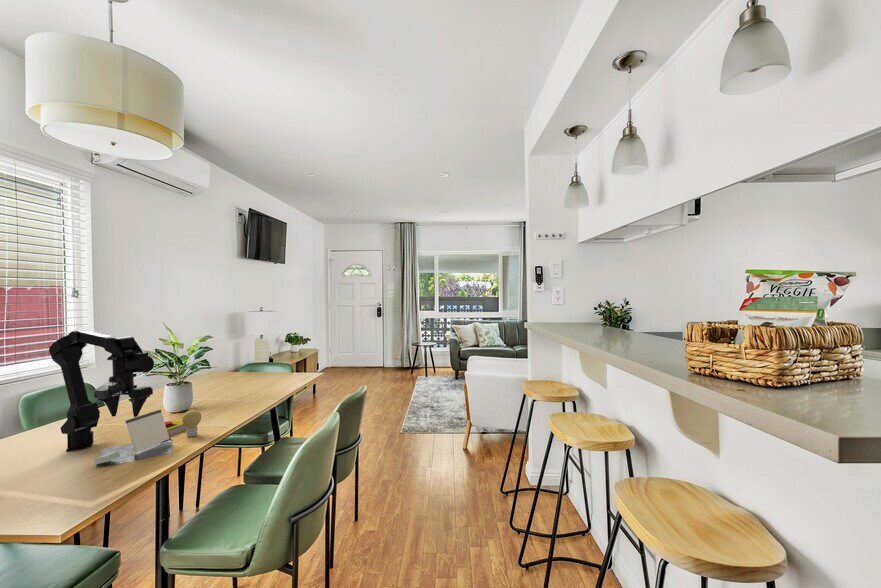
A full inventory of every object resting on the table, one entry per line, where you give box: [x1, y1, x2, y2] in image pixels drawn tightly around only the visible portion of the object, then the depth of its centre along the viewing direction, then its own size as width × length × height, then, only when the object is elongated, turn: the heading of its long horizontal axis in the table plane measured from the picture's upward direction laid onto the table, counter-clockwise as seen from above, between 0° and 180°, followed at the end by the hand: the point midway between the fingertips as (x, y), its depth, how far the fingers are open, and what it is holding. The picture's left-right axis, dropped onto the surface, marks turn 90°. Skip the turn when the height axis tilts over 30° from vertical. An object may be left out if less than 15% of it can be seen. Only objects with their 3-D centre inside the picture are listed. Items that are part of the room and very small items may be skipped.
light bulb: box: [181, 409, 202, 438], centre depth 156 cm, size 6×6×10 cm
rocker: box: [93, 451, 120, 465], centre depth 129 cm, size 5×4×2 cm
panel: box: [94, 433, 173, 469], centre depth 139 cm, size 20×20×2 cm
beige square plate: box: [124, 409, 169, 453], centre depth 139 cm, size 1×12×11 cm, turn 167°
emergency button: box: [164, 419, 187, 436], centre depth 161 cm, size 9×4×15 cm
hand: (124, 416), depth 141 cm, fingers open, 9 cm apart
